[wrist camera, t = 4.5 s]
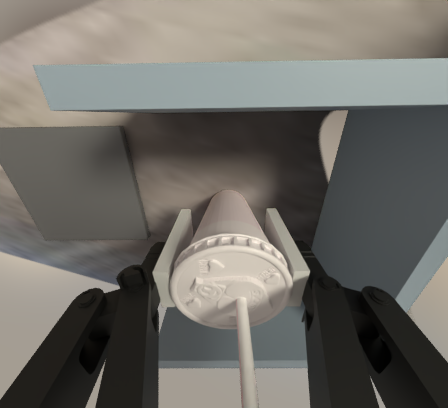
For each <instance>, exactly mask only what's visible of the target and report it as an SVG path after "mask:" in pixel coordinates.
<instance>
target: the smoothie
mask: <svg viewBox="0 0 448 408" xmlns="http://www.w3.org/2000/svg"><path fill="white" fill-rule="evenodd" d="M292 292H293V281H292V277H291V275H290V273H289V270H288V264H287V262H286V261H285V259H284V257H283V255H282V254H281V253H280V252H279V251H278V250H277V249H276V248H275V247H274V246H273V245H272V244H270V243H269V241H268V239H267V237H266V236H265V234H264V232H263V231H262V229H261V227H260V225H259V223H258V222H257V220H256V218H255V216H254V214H253V213H252V211H251V209H250V207H249V206H248V204H247V202H246V200H245V198H244V197H243V196H242V195H241V194H240V193H238V192H237V191H234V190H223V191H220V192H218V193H217V194H215V195H214V196H213V198H212V199H211V201H210V203H209V205H208V208H207V210H206V212H205V214H204V216H203V218H202V220H201V222H200V225H199V227H198V229H197V231H196V233H195V235H194V237H193V239H192V241H191V243H190V245H189V246H188V247H187V248H186V249H185V250H184V251H183V252H181V254H180V255H179V257H178V258H177V260H176V262H175V263H174V268H173V274H172V277H171V280H170V295H171V298H172V300H173V302H174V304H175V305H176V307H177V308H178V309H179V310H180V311H181V312H182V313H183V314H184V315H185V316H187V317H188V318H190V319H191V320H193V321H195V322H197V323H199V324H202V325H205V326H208V327H213V328H218V329H237V332H238V350H239V367H240V384H241V402H242V408H259V403H258V394H257V386H256V377H255V369H254V360H253V351H252V343H251V334H250V327H253V326H256V325H260V324H262V323H264V322H267V321H269V320H270V319H272V318H274V317H275V316H277V315H278V314H279V313H280V312H281V311H282V310H283V309H284V308H285V307H286V306H287V304H288V303H289V301H290V299H291V296H292Z"/></svg>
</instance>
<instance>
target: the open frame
mask: <svg viewBox="0 0 448 408" xmlns="http://www.w3.org/2000/svg"><path fill="white" fill-rule="evenodd" d="M33 67H34V70H35V72H36V75H37V77H38V80H39V82H40V85H41V87H42V90H43V92H44V95H45V97H46V100H47V102H48V105H49V107H50V110H53V111H92V112H130V113H189V112H256V111H324V110H348V114H347V118H346V122H345V125H344V129H343V132H342V136H341V140H340V144H339V147H338V151H337V155H336V159H335V162H334V166H333V170H332V174H331V177H330V181H329V185H328V188H327V192H326V196H325V200H324V203H323V207H322V211H321V214H320V218H319V222H318V226H317V229H316V233H315V237H314V241H313V244H312V248H311V250H312V253H314V255H315V257H316V258H317V259H318V261H319V263H320V264H321V266H322V267H323V269H324V270H325V272H326V273H327V275H328V276H330V277H332V278H334V279H336V280H337V281H338V282H339V283H340V284H341V286H343V287H346V288H349V289H353V290H357V291H361V290H362V289H363V288H364V287H365V286H373V287H377V288H380V289H382V290H384V291H385V292H387V293H388V294H390V295H391V296H392V297H393V298H394V299H395V300H396V301H397V303H398V304H399V305H400V306H401V307H402V309H403V310H404V311H405V312H406V313H407V311H408V310H409V309H410V307H411V306H412V304H413V303H414V302H415V300H416V299H417V298H418V296H419V295H420V294H421V292H422V291H423V289H424V288H425V287H426V285H427V284H428V282H429V281H430V280H431V279H432V277H433V276H434V274H435V273H436V272H437V270H438V269H439V268H440V266H441V265H442V263H443V262H444V261H445V259H446V258H447V257H448V58H425V59H368V60H310V61H253V62H195V63H138V64H80V65H33ZM304 310H305V305H304V303H303V301H302V302H301V305H300V306H291V307H287V306H286V307H285V308H284V309H283V310H282V311H281V312H280V313H279V314H278V315H277V316H275V317H274V318H272V319H270V320H269V321H267V322H264V323H262V324H260V325H256V326H253V327H250V334H251V343H252V351H253V360H254V368H308V365H307V351H306V336H305V322H304V323H303V322H301V321H302V316H303V313H304ZM158 368H240V367H239V350H238V332H237V329H218V328H213V327H208V326H205V325H202V324H199V323H197V322H195V321H193V320H191V319H190V318H188V317H187V316H185V315H184V314H183V313H182V312H181V311H180V310H179V309H178V308H177V307H176V306H175V307H167V310H166V313H165V317H164V320H163V323H162V327H161V330H160V333H159V361H158Z"/></svg>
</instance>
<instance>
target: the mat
mask: <svg viewBox="0 0 448 408" xmlns="http://www.w3.org/2000/svg"><path fill="white" fill-rule="evenodd" d="M0 164H1V166H2V167H3V169H4V171H5V173H6V174H7V176H8V178H9V179H10V181H11V183H12V185H13V186H14V188H15V190H16V191H17V193H18V195H19V196H20V198H21V200H22V202H23V203H24V205H25V207H26V208H27V210H28V212H29V214H30V215H31V217H32V219H33V220H34V222H35V224H36V226H37V227H38V229H39V231H40V232H41V234H42V236H43V238H44V239H45V240H148V239H149V237H150V234H149V229H148V225H147V221H146V217H145V213H144V209H143V205H142V201H141V197H140V193H139V189H138V185H137V181H136V177H135V173H134V169H133V165H132V161H131V157H130V153H129V149H128V145H127V141H126V137H125V133H124V129H123V126H87V127H17V128H0Z"/></svg>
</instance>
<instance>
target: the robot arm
mask: <svg viewBox="0 0 448 408" xmlns="http://www.w3.org/2000/svg"><path fill="white" fill-rule="evenodd" d="M264 234H265V236H266V237H267V239H268V241H269V243H270V244H272V245H273V246H274V247H275V248H276V249H277V250H278V251H279V252H280V253H281V254H282V255H283V257H284V259H285V261H286V262H287V264H288V270H289V273H290V275H291V277H292V281H293V292H292V296H291V299H290V301H289V303H288V304H287V307H291V306H300V305H301V302H302V301H303V303H304V305H305V310H304V313H303V316H302V321H301V322H303V323H304V322H305V336H306V351H307V365H308V379H309V393H310V408H379V405H378V402H377V398H376V395H375V392H374V388H373V385H372V382H371V379H372V381H373V383H374V384H375V387H376V389H377V391H378V393H379V395H380V397H381V399H382V401H383V403H384V405H385V407H386V408H448V363H447V361H446V360H445V359H444V358H443V356H442V355H441V354H440V353H439V352H438V350H437V349H436V348H435V347H434V346H433V344H431V342H430V341H429V340H428V338H426V336H425V335H424V334H423V333H422V331H421V330H420V329H419V328H418V327H417V325H416V324H415V323H414V322H413V321H412V319H411V318H410V317H409V316H408V315H407V313H406V312H405V311H404V310H403V309H402V307H401V306H400V305H399V304H398V303H397V301H396V300H395V299H394V298H393V297H392V296H391V295H390V294H388V293H387V292H385V291H384V290H382V289H380V288H377V287H373V286H365V287H364V288H363V289H362V290H361V291H357V290H353V289H349V288H346V287H343V286H341V284H340V283H339V282H338V281H337V280H336V279H334V278H332V277H330V276H328V275H327V273H326V272H325V270H324V269H323V267H322V266H321V264H320V263H319V261H318V259H317V258H316V257H315V255H314V253H312V250H311V249H310V247H309V246H308V245H307V244H306V243H305V242H303V241H293V239H292V237H291V235H290V233H289V232H288V230H287V228H286V226H285V224H284V222H283V221H282V219H281V217H280V215H279V213H278V211H277V210H276V208H267V209H266V218H265V227H264ZM192 239H193V227H192V218H191V209H181V211H180V213H179V215H178V218H177V220H176V222H175V224H174V226H173V229H172V231H171V233H170V235H169V237H168V239H167V242H157V243H156V244H155V245H154V246H152V247H151V249H150V251H149V253H148V254H147V256H146V259H145V260H144V262H143V264H142V265H132V266H129V267H127V268H125V269H124V270H122V271H121V272H120V273H119V274H118V276H117V278H116V279H117V281H118V284H119V286H120V289H118V290H115V291H111V292H108V293H104V292H103V290H101V289H99V288H93V289H89V290H87V291H85V292H83V293H81V294H80V295H79V296H77V297H76V299H74V300H73V302H72V303H71V304H70V306H69V307H68V308H67V310H66V311H65V312H64V314H63V315H62V317H61V318H60V319H59V321H58V322H57V323H56V325H55V326H54V327H53V329H52V330H51V331H50V333H49V334H48V336H47V337H46V338H45V340H44V341H43V342H42V344H41V345H40V346H39V348H38V349H37V351H36V352H35V353H34V355H33V356H32V357H31V359H30V360H29V361H28V363H27V364H26V366H25V367H24V368H23V370H22V371H21V373H20V374H19V375H18V376H17V378H16V379H15V381H14V382H13V384H12V385H11V386H10V387H9V389H8V390H7V391H6V393H5V394H4V396H3V397H2V398H1V400H0V408H85V407H86V404H87V402H88V400H89V397H90V395H91V393H92V390H93V388H94V386H95V383H96V381H97V378H98V376H99V374H100V371H101V369H102V366H103V364H104V362H105V366H104V371H103V375H102V380H101V384H100V389H99V393H98V398H97V403H96V408H158V361H159V314H158V310H157V309H158V306H159V303H160V302H161V306H162V307H175V306H176V305H175V304H174V302H173V300H172V298H171V295H170V280H171V277H172V274H173V268H174V263H175V262H176V260H177V258H178V257H179V255H180V254H181V252H183V251H184V250H185V249H186V248H187V247H188V246H189V245H190V243H191V241H192ZM105 360H106V361H105ZM370 377H371V379H370Z"/></svg>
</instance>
